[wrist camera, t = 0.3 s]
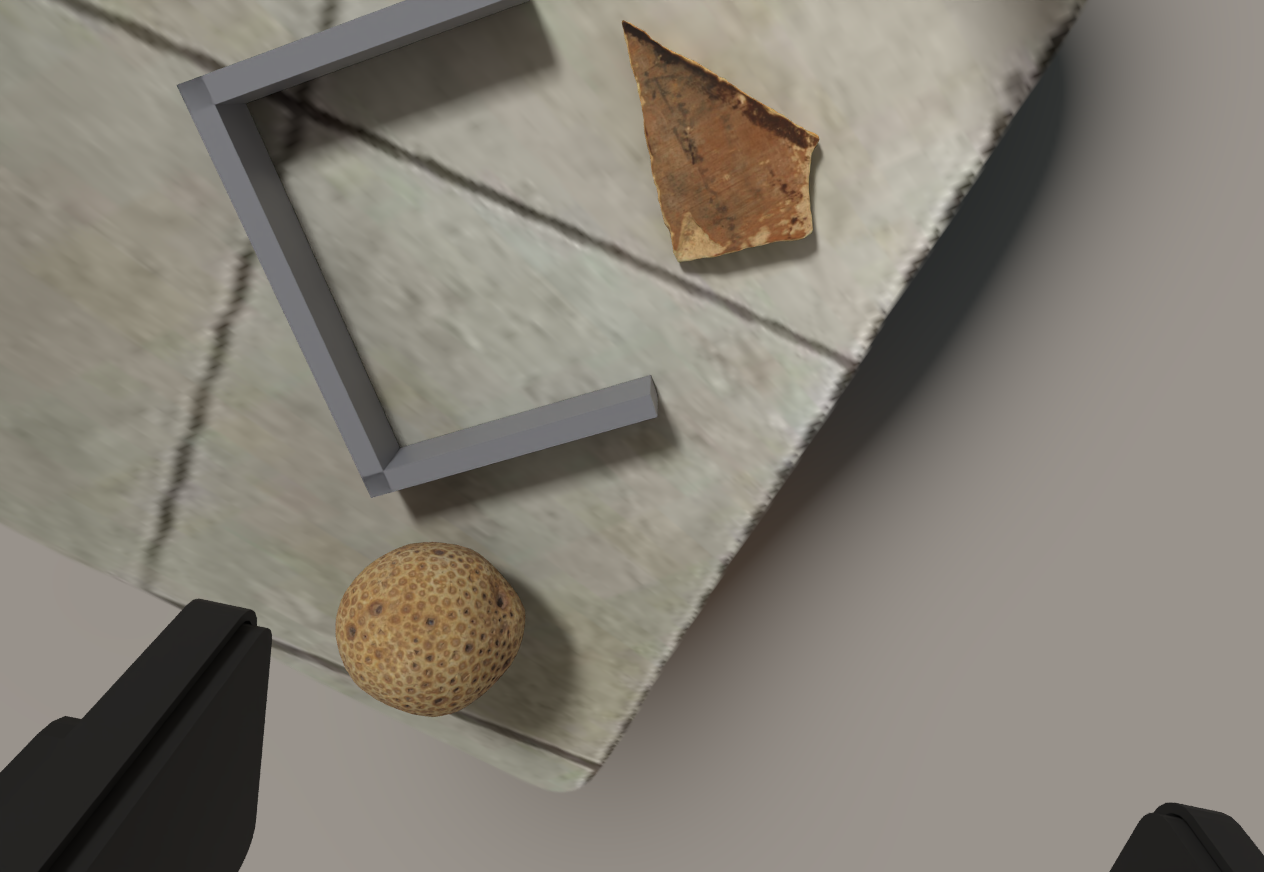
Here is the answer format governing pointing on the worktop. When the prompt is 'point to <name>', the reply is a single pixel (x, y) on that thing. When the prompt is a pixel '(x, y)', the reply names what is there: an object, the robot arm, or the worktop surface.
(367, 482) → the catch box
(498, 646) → the natural sponge
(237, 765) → the robot arm
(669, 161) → the shard
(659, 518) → the worktop surface
